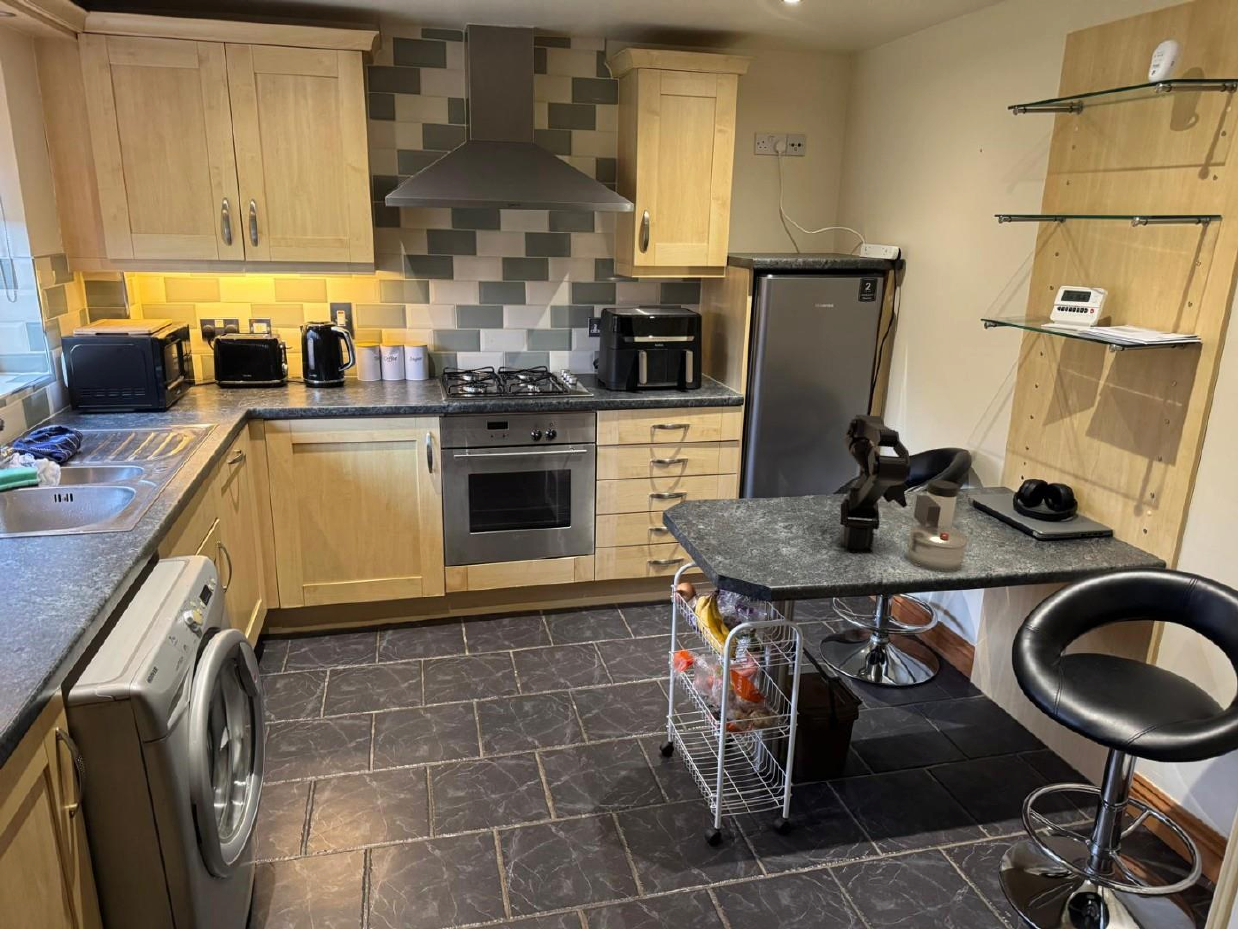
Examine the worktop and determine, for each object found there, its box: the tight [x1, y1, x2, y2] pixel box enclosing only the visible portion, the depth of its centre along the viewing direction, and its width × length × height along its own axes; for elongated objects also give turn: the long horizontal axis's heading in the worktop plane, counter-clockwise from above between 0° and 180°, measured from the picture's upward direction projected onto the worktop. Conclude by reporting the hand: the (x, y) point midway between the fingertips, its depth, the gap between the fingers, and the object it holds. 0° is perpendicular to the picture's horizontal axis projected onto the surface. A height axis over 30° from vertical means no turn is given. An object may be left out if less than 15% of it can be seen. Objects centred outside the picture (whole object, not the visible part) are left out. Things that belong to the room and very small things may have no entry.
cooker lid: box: [909, 494, 969, 548], centre depth 211 cm, size 22×13×6 cm, turn 178°
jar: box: [925, 479, 960, 529], centre depth 235 cm, size 9×8×12 cm
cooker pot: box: [906, 535, 967, 573], centre depth 211 cm, size 20×13×6 cm, turn 148°
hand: (904, 506), depth 217 cm, fingers closed
